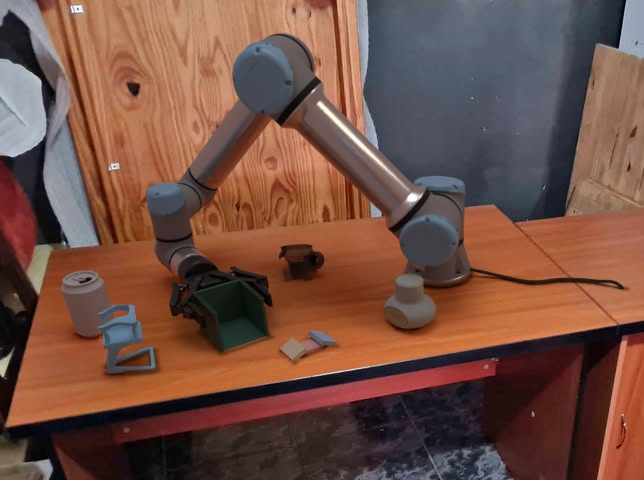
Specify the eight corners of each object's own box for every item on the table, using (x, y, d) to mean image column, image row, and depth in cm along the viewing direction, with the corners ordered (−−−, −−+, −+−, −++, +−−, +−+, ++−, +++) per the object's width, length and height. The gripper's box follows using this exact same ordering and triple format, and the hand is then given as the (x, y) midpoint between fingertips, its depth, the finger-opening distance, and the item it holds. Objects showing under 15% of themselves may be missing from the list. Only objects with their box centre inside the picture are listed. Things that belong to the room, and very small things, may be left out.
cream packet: (291, 359, 129) (294, 363, 130) (305, 347, 130) (307, 351, 131) (279, 348, 132) (281, 351, 133) (292, 337, 133) (295, 340, 134)
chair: (106, 359, 129) (89, 304, 123) (153, 350, 132) (139, 295, 126) (107, 381, 124) (89, 324, 117) (156, 371, 127) (141, 315, 120)
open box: (200, 331, 138) (191, 292, 133) (247, 316, 144) (240, 278, 139) (221, 354, 132) (213, 314, 127) (270, 337, 137) (264, 298, 132)
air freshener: (378, 320, 144) (375, 277, 139) (405, 305, 149) (404, 264, 144) (415, 338, 138) (414, 295, 133) (442, 323, 144) (442, 281, 138)
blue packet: (323, 340, 133) (321, 345, 133) (336, 341, 135) (335, 346, 135) (309, 330, 136) (307, 334, 136) (322, 331, 138) (321, 335, 138)
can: (101, 341, 134) (84, 288, 127) (68, 336, 135) (49, 283, 129) (124, 322, 140) (109, 270, 134) (92, 318, 141) (75, 266, 135)
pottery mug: (272, 282, 158) (268, 246, 157) (295, 282, 167) (291, 248, 166) (317, 277, 154) (313, 240, 153) (338, 278, 163) (334, 243, 162)
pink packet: (292, 345, 133) (293, 349, 134) (301, 353, 131) (301, 357, 132) (315, 337, 136) (315, 341, 137) (323, 344, 134) (324, 348, 134)
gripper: (252, 271, 154) (298, 308, 140) (139, 303, 140) (177, 348, 127) (247, 240, 150) (294, 276, 136) (130, 271, 136) (168, 313, 123)
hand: (237, 311), depth 132 cm, fingers open, 13 cm apart
